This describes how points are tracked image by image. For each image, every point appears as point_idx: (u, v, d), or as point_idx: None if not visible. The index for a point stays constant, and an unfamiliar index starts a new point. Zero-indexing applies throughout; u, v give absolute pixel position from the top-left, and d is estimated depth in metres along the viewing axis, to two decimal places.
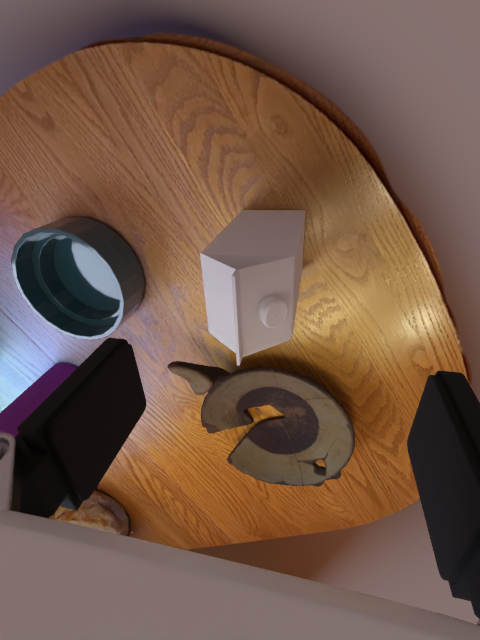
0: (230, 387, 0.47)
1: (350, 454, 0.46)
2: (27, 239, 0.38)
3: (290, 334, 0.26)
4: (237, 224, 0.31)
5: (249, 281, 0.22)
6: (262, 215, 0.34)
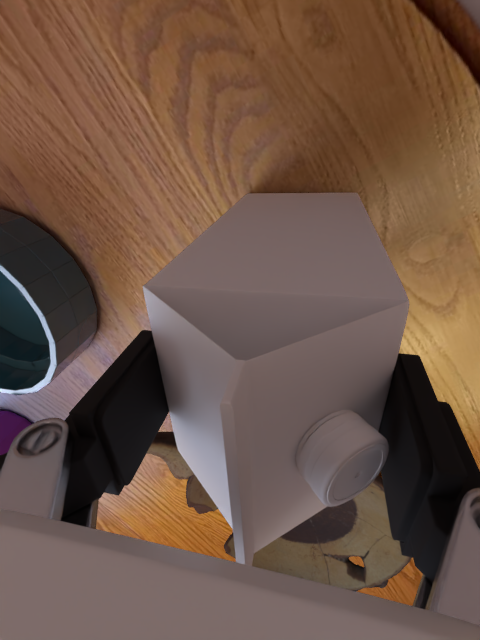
0: None
1: (406, 562, 0.31)
2: None
3: None
4: (239, 216, 0.16)
5: (280, 389, 0.07)
6: (284, 200, 0.19)
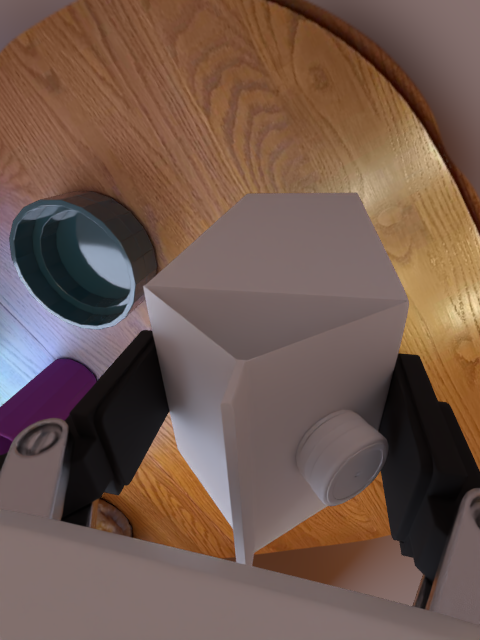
0: None
1: None
2: (27, 213, 0.34)
3: None
4: (239, 216, 0.16)
5: (281, 389, 0.07)
6: (284, 201, 0.19)
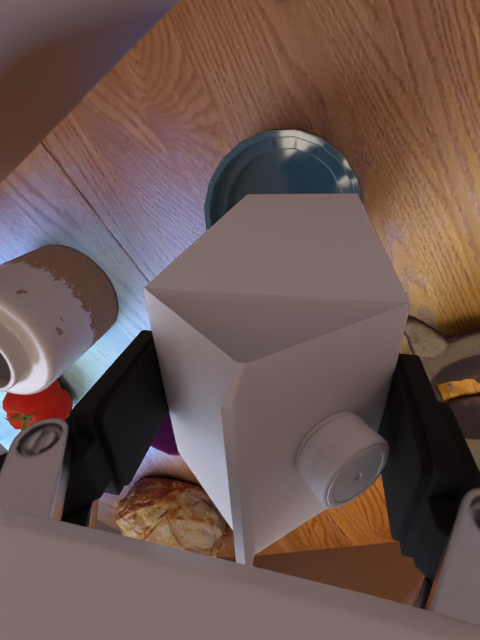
0: (442, 354, 0.38)
1: None
2: (243, 149, 0.29)
3: None
4: (239, 217, 0.16)
5: (281, 392, 0.07)
6: (284, 201, 0.19)
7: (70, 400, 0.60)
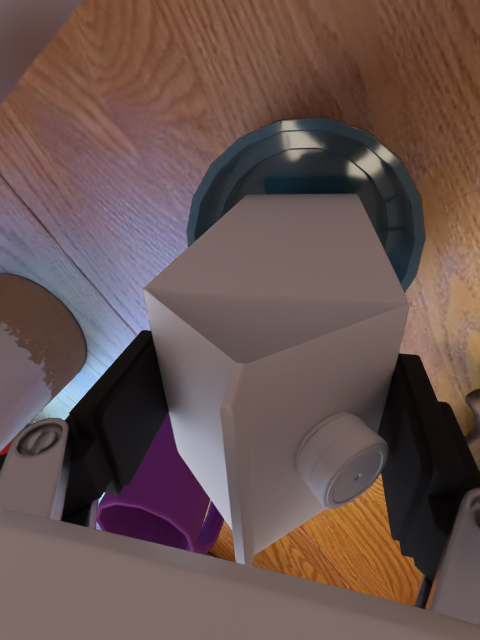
0: None
1: None
2: (242, 150, 0.19)
3: None
4: (239, 217, 0.16)
5: (280, 392, 0.07)
6: (284, 202, 0.19)
7: None
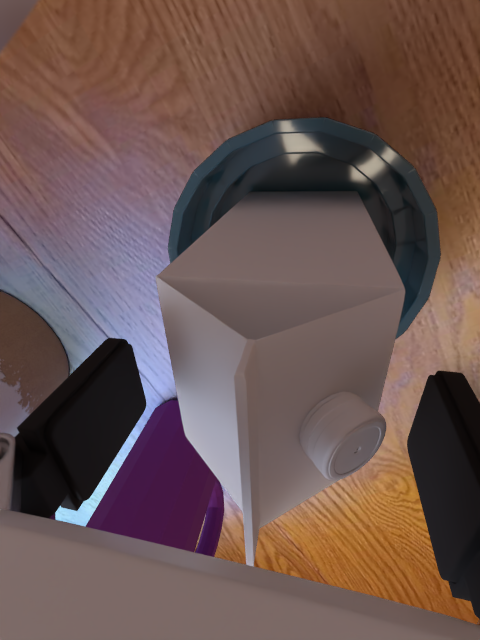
0: None
1: None
2: (229, 155, 0.17)
3: None
4: (243, 212, 0.17)
5: (286, 368, 0.07)
6: (286, 198, 0.19)
7: None
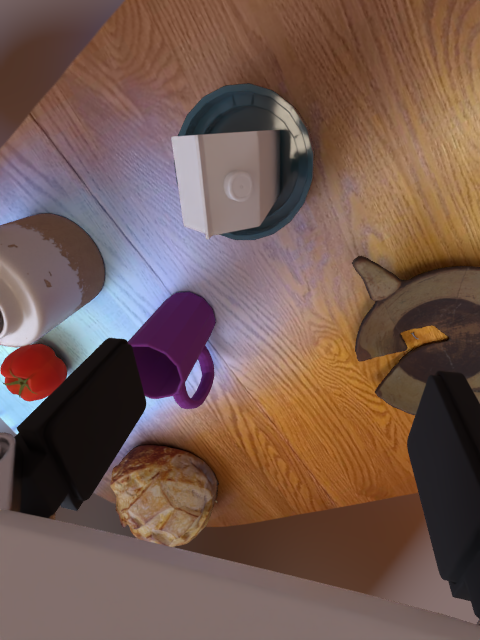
0: (400, 299, 0.42)
1: None
2: (204, 105, 0.33)
3: (259, 220, 0.28)
4: None
5: (214, 150, 0.23)
6: None
7: (64, 368, 0.64)
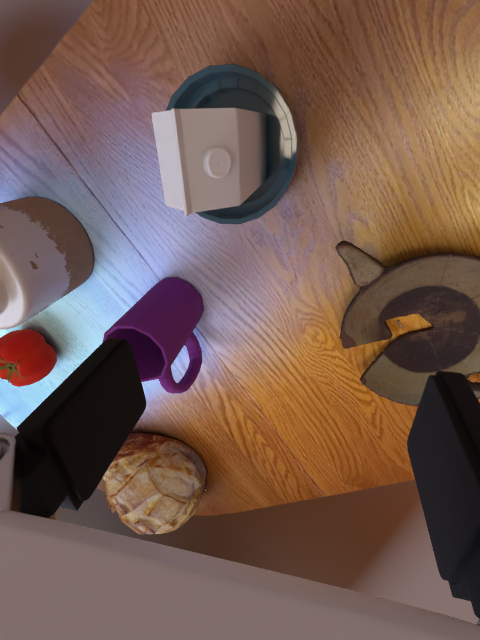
0: (384, 286, 0.42)
1: None
2: (189, 86, 0.33)
3: (239, 199, 0.28)
4: None
5: (192, 125, 0.24)
6: None
7: (54, 354, 0.64)
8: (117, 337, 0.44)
